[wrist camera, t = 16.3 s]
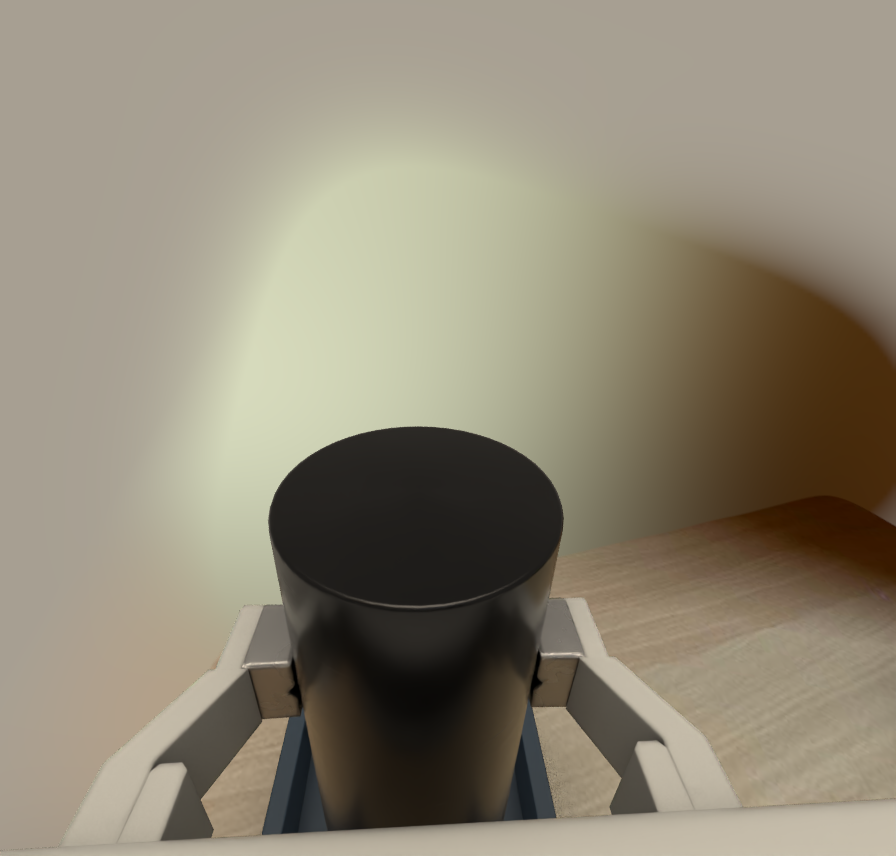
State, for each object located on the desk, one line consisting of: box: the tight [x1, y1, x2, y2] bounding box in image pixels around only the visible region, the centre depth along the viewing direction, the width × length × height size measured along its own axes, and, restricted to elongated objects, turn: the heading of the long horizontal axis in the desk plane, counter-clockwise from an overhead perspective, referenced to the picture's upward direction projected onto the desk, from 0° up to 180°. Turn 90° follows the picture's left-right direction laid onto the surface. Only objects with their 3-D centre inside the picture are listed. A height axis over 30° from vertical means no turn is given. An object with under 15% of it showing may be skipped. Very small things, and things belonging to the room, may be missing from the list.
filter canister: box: [268, 427, 564, 831], centre depth 11 cm, size 5×5×10 cm
